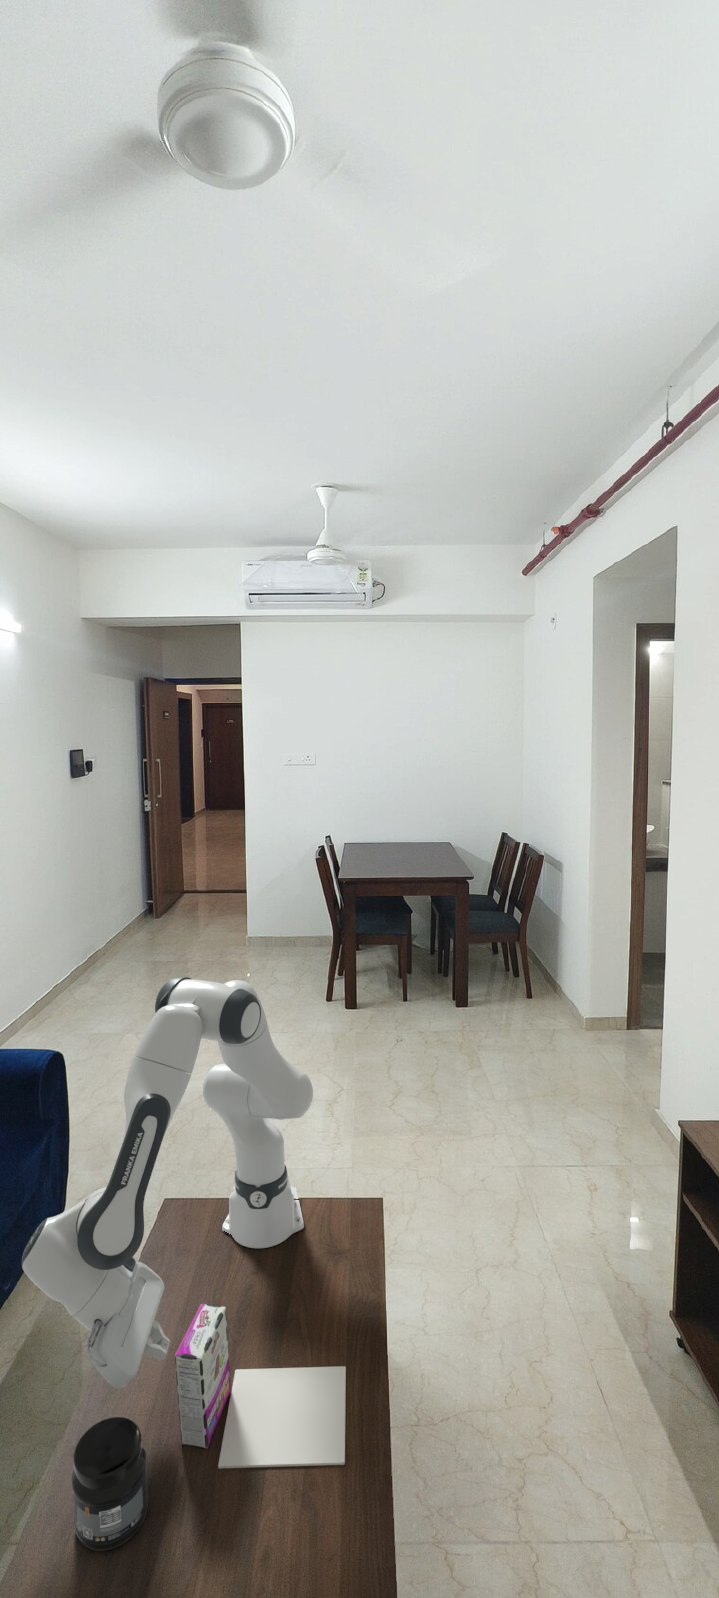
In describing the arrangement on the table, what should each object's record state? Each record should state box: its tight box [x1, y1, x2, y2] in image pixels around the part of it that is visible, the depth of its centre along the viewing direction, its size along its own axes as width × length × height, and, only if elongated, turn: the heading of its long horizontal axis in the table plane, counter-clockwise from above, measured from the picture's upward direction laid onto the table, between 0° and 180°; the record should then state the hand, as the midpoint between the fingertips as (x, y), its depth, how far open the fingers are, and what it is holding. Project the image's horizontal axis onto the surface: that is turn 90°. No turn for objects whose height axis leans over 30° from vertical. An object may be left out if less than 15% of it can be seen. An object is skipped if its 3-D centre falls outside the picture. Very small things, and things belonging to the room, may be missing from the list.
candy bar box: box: [174, 1303, 232, 1449], centre depth 129 cm, size 11×5×16 cm, turn 169°
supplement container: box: [70, 1416, 149, 1552], centre depth 114 cm, size 10×10×12 cm
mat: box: [217, 1365, 347, 1469], centre depth 130 cm, size 18×20×1 cm
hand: (166, 1351), depth 129 cm, fingers closed
